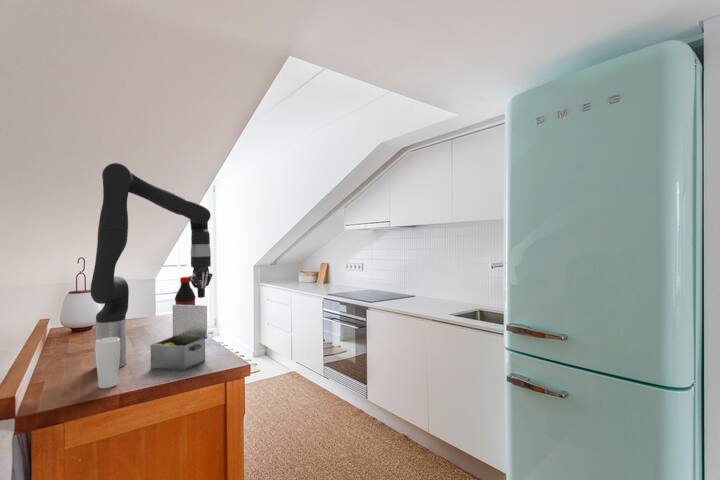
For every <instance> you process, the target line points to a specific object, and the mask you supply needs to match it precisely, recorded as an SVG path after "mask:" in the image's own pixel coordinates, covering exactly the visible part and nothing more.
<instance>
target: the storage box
mask: <svg viewBox="0 0 720 480" xmlns="http://www.w3.org/2000/svg"><path fill="white" fill-rule="evenodd" d="M165 343H174V344H175V345H164V344H165ZM205 362H206V339H205V338H198V337H180V336H173V335H172V336H170V337H167V338H165V339H162V340H160V341H157V342H154V343H151V344H150V370H154V371H155V370H156V371H166V372H167V371H169V372H170V371H171V372H183V373H185V372H187V371H189V370H191V369H193V368H195V367H197V366H199V365H200V364H202V363H205Z"/></svg>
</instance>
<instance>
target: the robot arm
mask: <svg viewBox="0 0 720 480" xmlns="http://www.w3.org/2000/svg"><path fill="white" fill-rule="evenodd" d="M101 175H102V176H101V177H102V192H103V193H102V197H103V198H102V204H101V205H102V206H101V209H100V214H99V215H100V216H99V219H98V226H97V227H98V228H97V245H96V252H95V254H96V255H95V263H94V268H93V274H92V278H91V283H90V290H89V291H90V296H91V299H92V300H93V301H94V302H95V303H97V304H100V305H103V307H102V309H101V310H99V312H97V314H96V315H95V328H96V329H95V331H96V332H95V335H96V336H95V337H96V338H95V341H94V342H93V357H94V358H93V366H94V367H93V368H95V369H97V365H96V357H95V342H96V341H97V340H99V339H102V338H108V337H119V338H120V361H119V368H122V367H123V366H125V365H126V364H127V347H126V346H127V337H126V336H127V331H126V329H127V328H126V325H127V324H126V322H127V321H126V315H127V313H128V310H129V296H130V291H129V290H130V289H129V284H128V282H127V280H126V279H125V278H124V277H122V276H115V270H116V267H117V262H118V260H119V259H120V257H121V255H122V254H123V252H124V250H125V248H126V246H127V243H128V236H129V215H128V198H129V197H128V196H129V193H130V194H133V195H136V196H138V197H140V198H142V199H145V200H147V201H149V202H150V203H153V204H154V205H156V206H158V207H160V208H162V209H164V210H166V211H168V212H171V213H173V214H176V215H178V216H183V217H185V218H186V219H189V222H190V231H191V235H190V237H191V238H190V240H191V243H190V244H191V245H190V267H191V268H193V270H192V274H191V275H188V277H189V280H190V283H191V285H192V287H193V288H196V289H197V298H199V299H202V298H205V297H206V288H207V287H208V286H209V285H210V282H211V280H212V278H213V275H214V274H213V273H211V272H210V269H209V267H211V265H212V264H211V260H212V259H211V255H212V253H211V246H210V245H211V243H210V241H211V239H210V238H211V237H210V235H211V234H210V232H209V226H208V225H209V221H210V220H211V211H210V210H209V209H208V208H207V207H206V206H204V205H200V204H199V203H197V202H193V201H191V200H188V199H186V198H185V197H182V196H180V195H178V194H176V193H174V192H172V191H170V190H167V189H165V188H163V187H160V186H157V185H155V184H152V183H150V182H148V181H146V180H143V179H142V178H140V177H139V176H137V175H135V174H134V173H132V171H131V170H130V168H128V167H127V166H126V165H125V164H123V163H120V162H119V163H118V162H113V163H109V164H108V165H106V167H104V169H103V170H102V174H101Z"/></svg>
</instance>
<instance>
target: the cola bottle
mask: <svg viewBox="0 0 720 480" xmlns="http://www.w3.org/2000/svg"><path fill="white" fill-rule="evenodd" d="M190 283H191V281H190V280H189V276H181V277H180V286H179V289H178V291H177V292H176V294H175V297H174V301H175V305H196V294H195V292H194V290H193V288H192V287H191V284H190Z"/></svg>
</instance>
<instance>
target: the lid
mask: <svg viewBox="0 0 720 480" xmlns="http://www.w3.org/2000/svg"><path fill="white" fill-rule="evenodd" d="M172 336H180V337H198V338H205V340H207V339H208V306H207V305H196V304H195V305H176V304H172Z"/></svg>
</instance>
